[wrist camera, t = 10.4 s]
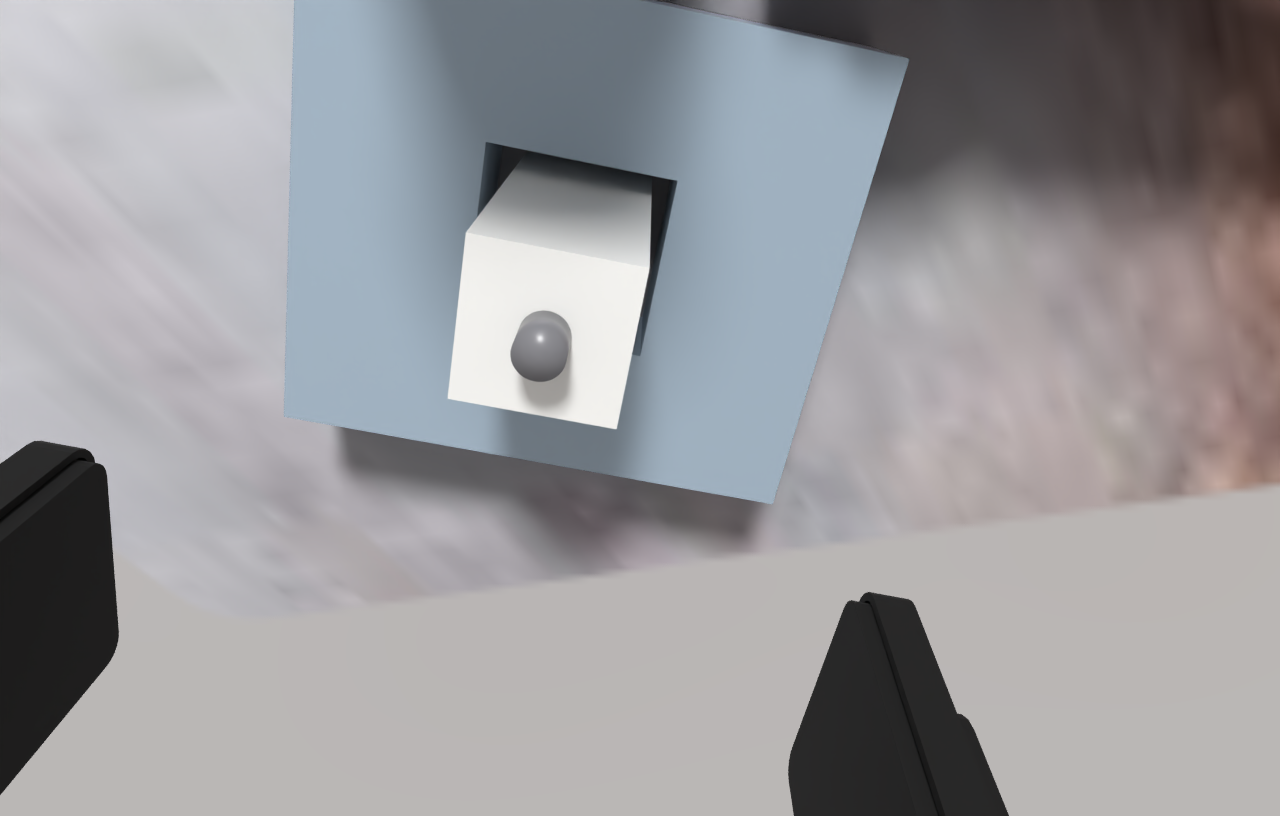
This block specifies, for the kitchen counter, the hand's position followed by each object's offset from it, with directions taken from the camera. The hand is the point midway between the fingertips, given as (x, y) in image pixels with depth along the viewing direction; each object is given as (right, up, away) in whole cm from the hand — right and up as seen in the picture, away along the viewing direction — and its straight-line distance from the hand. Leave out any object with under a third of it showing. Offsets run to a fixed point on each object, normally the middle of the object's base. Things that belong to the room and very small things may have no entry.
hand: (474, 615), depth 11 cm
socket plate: (0, +9, +19) cm, 21 cm away
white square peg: (0, +9, +18) cm, 20 cm away
